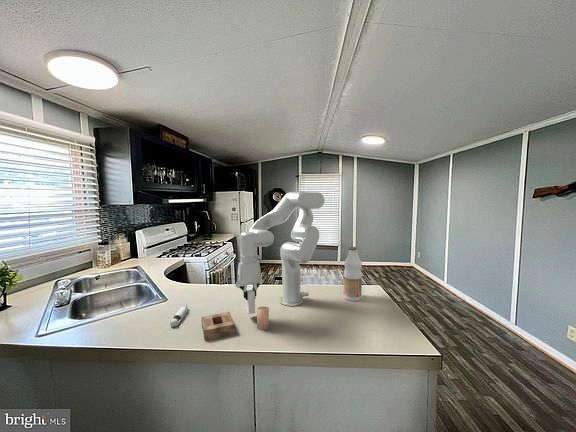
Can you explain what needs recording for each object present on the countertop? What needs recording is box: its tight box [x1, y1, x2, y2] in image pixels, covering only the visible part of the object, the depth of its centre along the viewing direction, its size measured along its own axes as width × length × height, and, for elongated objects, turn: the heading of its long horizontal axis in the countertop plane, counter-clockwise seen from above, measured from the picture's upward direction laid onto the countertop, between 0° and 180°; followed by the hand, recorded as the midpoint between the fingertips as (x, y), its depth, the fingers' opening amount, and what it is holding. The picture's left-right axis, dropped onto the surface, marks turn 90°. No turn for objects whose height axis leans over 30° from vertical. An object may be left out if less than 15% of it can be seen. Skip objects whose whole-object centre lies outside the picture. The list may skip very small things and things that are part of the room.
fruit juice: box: [343, 246, 363, 302], centre depth 138 cm, size 9×9×28 cm
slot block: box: [201, 311, 236, 341], centre depth 107 cm, size 12×12×4 cm
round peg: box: [256, 306, 270, 331], centre depth 109 cm, size 5×5×8 cm
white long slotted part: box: [169, 303, 190, 328], centre depth 118 cm, size 18×5×6 cm, turn 4°
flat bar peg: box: [245, 287, 256, 315], centre depth 117 cm, size 3×5×10 cm, turn 24°
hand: (250, 298), depth 117 cm, fingers closed on flat bar peg, 2 cm apart
